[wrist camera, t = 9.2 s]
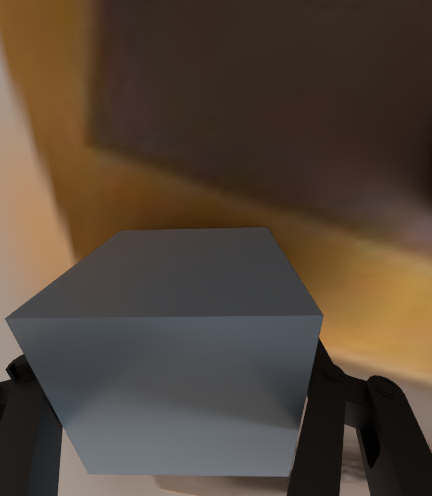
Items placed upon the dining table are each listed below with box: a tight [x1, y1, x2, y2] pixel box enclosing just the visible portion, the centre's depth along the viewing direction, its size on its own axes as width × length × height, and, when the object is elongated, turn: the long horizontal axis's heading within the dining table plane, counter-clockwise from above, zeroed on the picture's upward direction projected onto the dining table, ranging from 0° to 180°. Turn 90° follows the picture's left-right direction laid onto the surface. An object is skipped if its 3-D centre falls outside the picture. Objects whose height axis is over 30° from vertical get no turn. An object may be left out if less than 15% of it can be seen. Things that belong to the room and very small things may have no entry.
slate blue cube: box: [5, 227, 324, 477], centre depth 13 cm, size 10×10×9 cm
